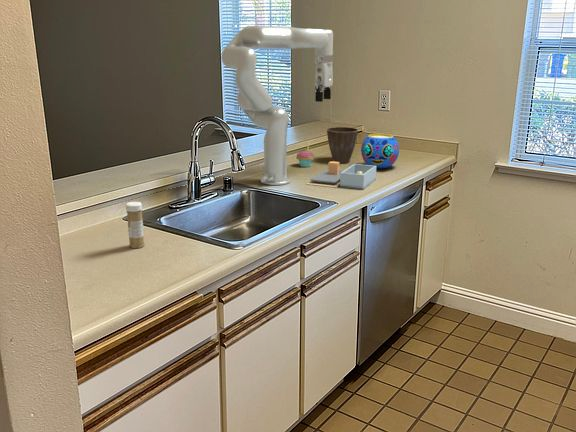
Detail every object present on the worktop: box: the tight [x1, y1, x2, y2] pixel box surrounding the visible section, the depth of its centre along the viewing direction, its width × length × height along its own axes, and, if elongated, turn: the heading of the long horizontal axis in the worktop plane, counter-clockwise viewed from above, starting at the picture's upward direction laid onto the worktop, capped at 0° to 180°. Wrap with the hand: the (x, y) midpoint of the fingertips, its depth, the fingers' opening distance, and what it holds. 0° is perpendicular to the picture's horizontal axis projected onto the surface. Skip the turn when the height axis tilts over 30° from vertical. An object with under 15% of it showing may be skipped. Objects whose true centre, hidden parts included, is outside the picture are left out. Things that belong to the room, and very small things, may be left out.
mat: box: [306, 180, 340, 189], centre depth 255 cm, size 22×13×1 cm, turn 156°
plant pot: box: [326, 126, 359, 165], centre depth 286 cm, size 15×15×16 cm
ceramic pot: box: [360, 133, 400, 169], centre depth 275 cm, size 18×18×15 cm
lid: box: [309, 161, 343, 184], centre depth 254 cm, size 19×11×7 cm, turn 156°
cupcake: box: [295, 142, 315, 168], centre depth 279 cm, size 9×8×12 cm
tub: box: [339, 163, 377, 190], centre depth 249 cm, size 18×10×6 cm, turn 156°
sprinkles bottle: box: [125, 201, 145, 249], centre depth 176 cm, size 5×5×14 cm
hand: (323, 100), depth 258 cm, fingers open, 9 cm apart
